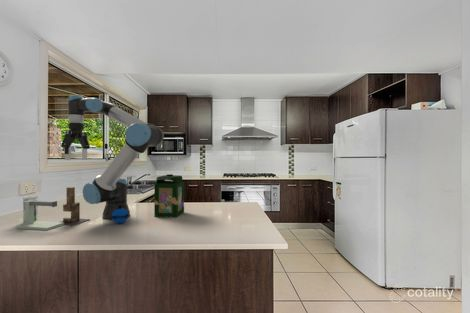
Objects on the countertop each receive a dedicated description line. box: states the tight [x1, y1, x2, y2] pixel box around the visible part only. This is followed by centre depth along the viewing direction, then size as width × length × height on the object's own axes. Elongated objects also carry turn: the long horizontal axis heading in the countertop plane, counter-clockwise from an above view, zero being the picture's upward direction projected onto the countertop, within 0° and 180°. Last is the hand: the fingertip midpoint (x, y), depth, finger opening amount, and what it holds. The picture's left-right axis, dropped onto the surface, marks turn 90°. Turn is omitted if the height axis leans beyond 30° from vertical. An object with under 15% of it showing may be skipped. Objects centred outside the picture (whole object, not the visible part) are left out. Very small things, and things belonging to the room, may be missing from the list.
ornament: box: [111, 205, 130, 225], centre depth 143 cm, size 9×9×10 cm
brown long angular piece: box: [62, 186, 81, 224], centre depth 144 cm, size 4×7×19 cm, turn 169°
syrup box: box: [22, 194, 39, 224], centre depth 144 cm, size 6×6×14 cm
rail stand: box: [16, 200, 65, 231], centre depth 136 cm, size 18×10×13 cm, turn 79°
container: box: [153, 173, 185, 219], centre depth 164 cm, size 15×18×25 cm
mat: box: [59, 218, 91, 227], centre depth 145 cm, size 12×12×1 cm
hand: (76, 160), depth 150 cm, fingers open, 13 cm apart
